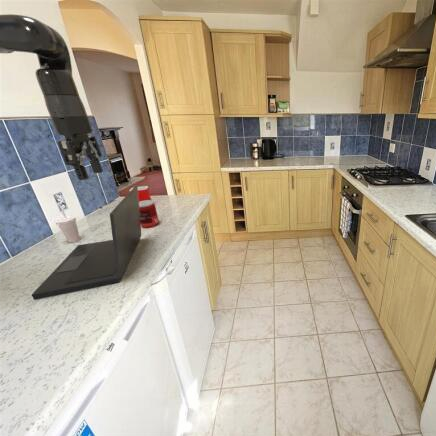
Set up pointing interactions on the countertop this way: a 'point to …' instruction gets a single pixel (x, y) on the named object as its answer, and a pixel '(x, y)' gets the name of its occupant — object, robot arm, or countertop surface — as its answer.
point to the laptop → (82, 270)
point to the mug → (143, 193)
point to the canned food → (148, 214)
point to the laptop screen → (125, 229)
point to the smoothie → (68, 227)
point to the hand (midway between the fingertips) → (91, 176)
